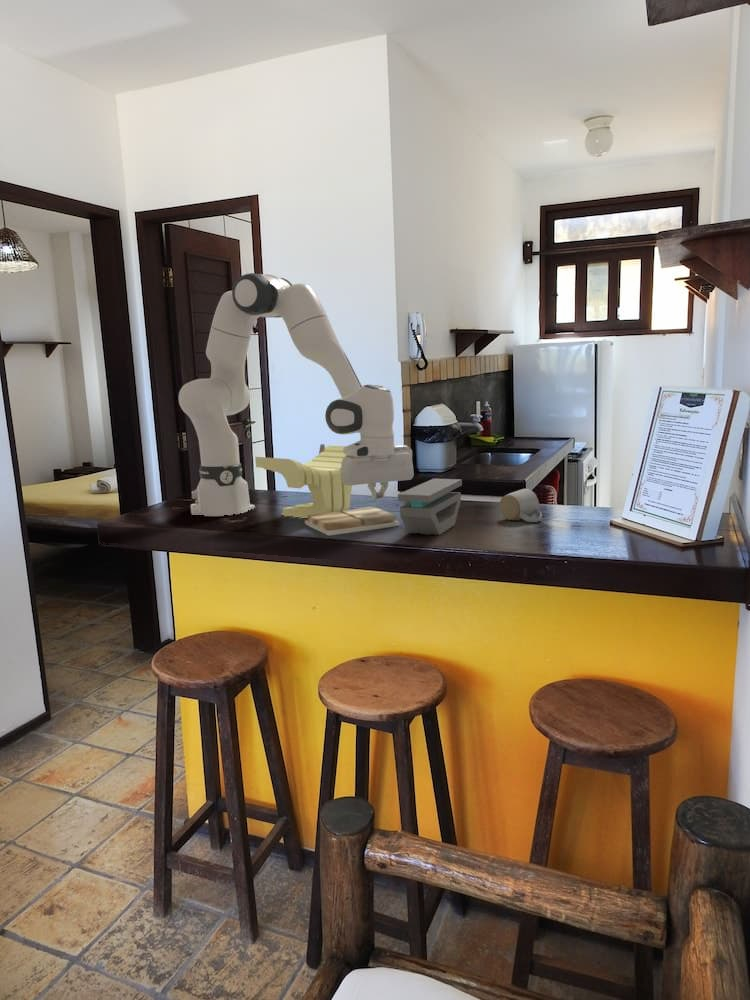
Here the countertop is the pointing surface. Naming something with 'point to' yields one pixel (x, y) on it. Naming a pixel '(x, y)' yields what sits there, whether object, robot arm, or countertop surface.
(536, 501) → the ceramic mug
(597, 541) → the countertop surface
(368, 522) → the ash plank
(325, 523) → the oak plank
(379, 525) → the underlay board
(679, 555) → the countertop surface
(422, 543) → the countertop surface
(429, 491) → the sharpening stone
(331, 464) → the yellow ribbed sculpture
